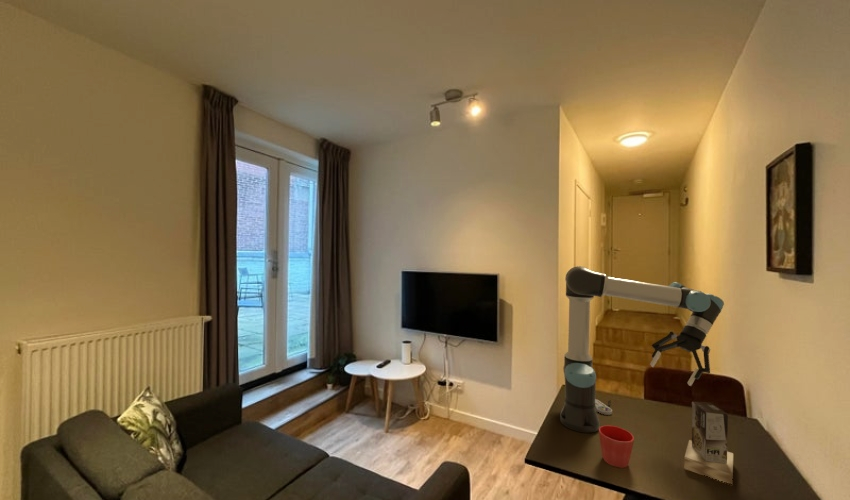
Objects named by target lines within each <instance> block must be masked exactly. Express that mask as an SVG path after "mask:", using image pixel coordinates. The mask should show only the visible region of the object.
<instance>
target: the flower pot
mask: <svg viewBox="0 0 850 500" xmlns="http://www.w3.org/2000/svg"><path fill="white" fill-rule="evenodd" d="M598 436H599V441H600V450H601V456H602V459H603V461H604V462H605V463H607V464H608V465H610V466H612V467H615V468H621V469H624V468H626V467H629V463H630V459H631V456H632V451H633V446H634V442H635V441H634V440H635V437H634V435H633V434H632V433H631V432H630V431H628V430H627V429H625V428H622V427H619V426H616V425H602V426H600V428H599V430H598Z"/></svg>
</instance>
